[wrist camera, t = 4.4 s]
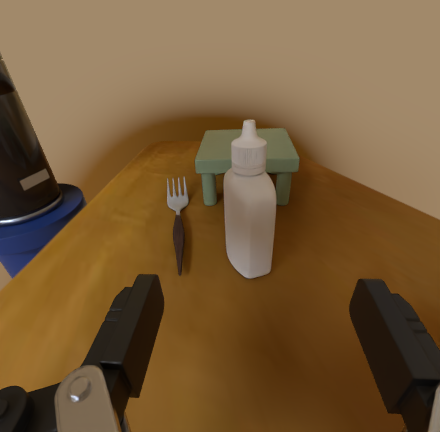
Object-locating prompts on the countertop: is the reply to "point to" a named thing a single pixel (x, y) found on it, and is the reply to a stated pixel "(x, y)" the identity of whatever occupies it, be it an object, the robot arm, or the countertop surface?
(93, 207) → the countertop surface
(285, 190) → the stool
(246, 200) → the eye dropper bottle
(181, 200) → the fork
